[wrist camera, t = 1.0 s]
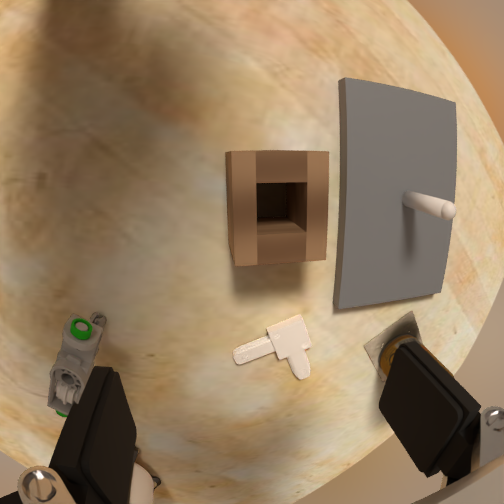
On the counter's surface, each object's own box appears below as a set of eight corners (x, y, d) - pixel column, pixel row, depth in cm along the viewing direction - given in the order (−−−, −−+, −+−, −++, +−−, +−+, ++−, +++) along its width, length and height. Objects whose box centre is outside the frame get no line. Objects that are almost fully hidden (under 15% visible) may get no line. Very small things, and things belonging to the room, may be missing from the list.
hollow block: (225, 152, 25) (231, 151, 20) (303, 151, 26) (328, 151, 21) (228, 243, 28) (235, 266, 22) (302, 239, 29) (325, 260, 23)
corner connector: (253, 390, 34) (255, 399, 32) (226, 340, 31) (228, 349, 30) (316, 364, 34) (321, 373, 33) (298, 311, 32) (303, 319, 30)
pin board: (338, 80, 25) (385, 59, 17) (447, 103, 26) (500, 99, 19) (332, 302, 31) (368, 346, 23) (433, 287, 33) (477, 317, 25)
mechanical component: (127, 283, 27) (97, 342, 18) (100, 359, 30) (75, 425, 20) (99, 270, 27) (58, 323, 17) (76, 348, 29) (45, 410, 19)
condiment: (382, 381, 37) (426, 441, 25) (363, 344, 34) (414, 411, 23) (424, 349, 36) (475, 401, 25) (410, 309, 34) (473, 362, 22)
